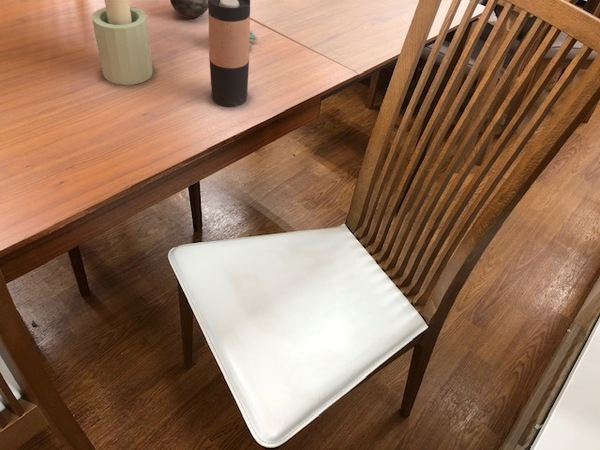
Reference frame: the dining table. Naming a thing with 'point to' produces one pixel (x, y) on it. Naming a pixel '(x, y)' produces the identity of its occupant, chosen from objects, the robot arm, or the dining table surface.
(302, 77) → the dining table surface
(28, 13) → the dining table surface
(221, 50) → the travel mug
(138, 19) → the jar
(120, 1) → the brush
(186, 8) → the decorative stone
